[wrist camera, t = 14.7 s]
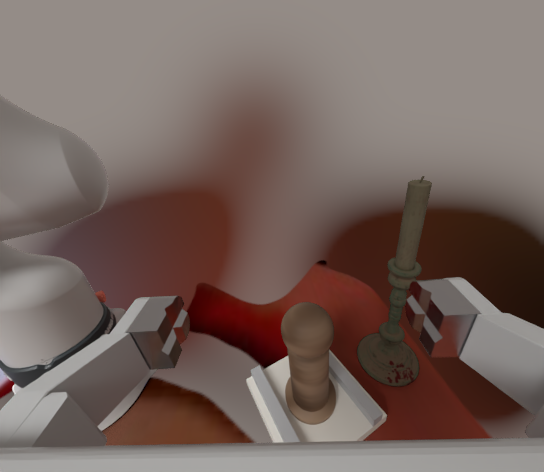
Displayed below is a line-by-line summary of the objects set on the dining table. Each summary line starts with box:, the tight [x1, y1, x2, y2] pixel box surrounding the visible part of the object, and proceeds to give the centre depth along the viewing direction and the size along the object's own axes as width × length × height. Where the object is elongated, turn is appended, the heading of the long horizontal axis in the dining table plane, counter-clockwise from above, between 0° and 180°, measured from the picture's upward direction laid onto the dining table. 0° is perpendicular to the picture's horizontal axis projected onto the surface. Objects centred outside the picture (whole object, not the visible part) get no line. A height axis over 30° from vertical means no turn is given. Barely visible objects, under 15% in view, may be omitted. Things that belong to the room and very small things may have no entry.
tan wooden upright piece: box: [281, 302, 336, 425], centre depth 30 cm, size 7×7×16 cm
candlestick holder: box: [357, 176, 432, 386], centre depth 32 cm, size 9×9×30 cm
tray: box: [246, 350, 387, 443], centre depth 34 cm, size 14×14×3 cm
